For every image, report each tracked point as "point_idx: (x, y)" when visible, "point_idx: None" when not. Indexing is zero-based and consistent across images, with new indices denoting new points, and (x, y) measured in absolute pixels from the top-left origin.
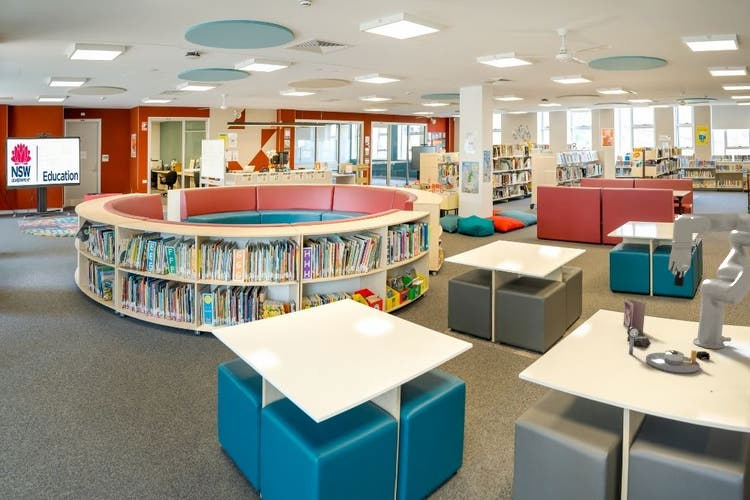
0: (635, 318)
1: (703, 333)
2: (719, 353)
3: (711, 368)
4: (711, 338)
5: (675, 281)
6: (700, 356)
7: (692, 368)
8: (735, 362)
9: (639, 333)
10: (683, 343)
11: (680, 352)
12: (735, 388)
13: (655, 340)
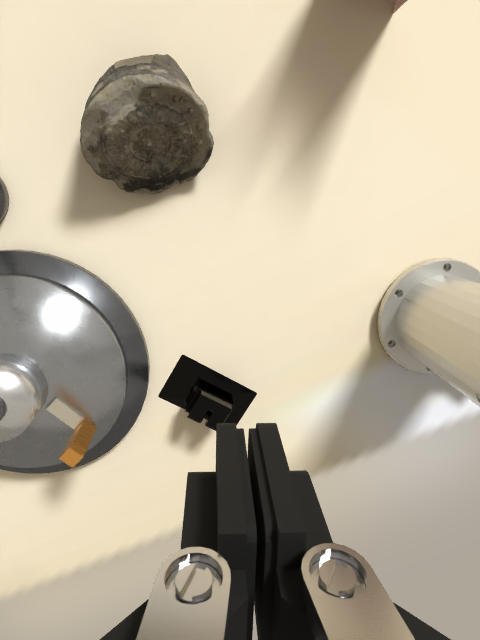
0: None
1: (421, 328)
2: (354, 388)
3: (162, 445)
4: (415, 355)
5: (186, 496)
6: (185, 409)
7: (20, 457)
8: (298, 459)
9: (138, 120)
10: (368, 245)
11: (28, 416)
12: (53, 558)
13: (306, 139)
